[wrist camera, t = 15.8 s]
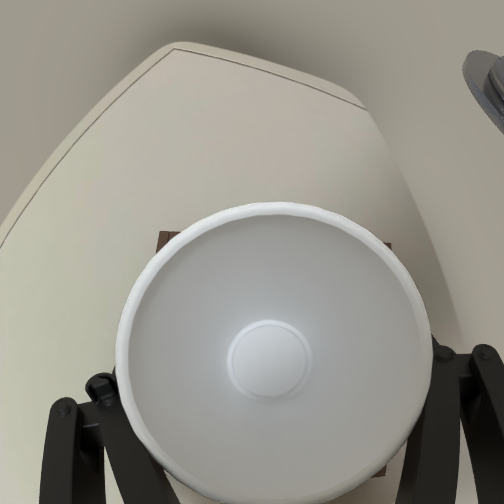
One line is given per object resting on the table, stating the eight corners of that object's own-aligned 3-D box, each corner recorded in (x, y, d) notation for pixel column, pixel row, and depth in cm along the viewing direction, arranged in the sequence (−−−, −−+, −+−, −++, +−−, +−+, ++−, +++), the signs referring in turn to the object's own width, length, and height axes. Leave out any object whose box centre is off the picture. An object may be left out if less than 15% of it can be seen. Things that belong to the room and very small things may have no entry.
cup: (370, 321, 19) (465, 272, 9) (306, 459, 16) (348, 544, 6) (233, 260, 21) (207, 159, 11) (164, 393, 18) (68, 412, 8)
